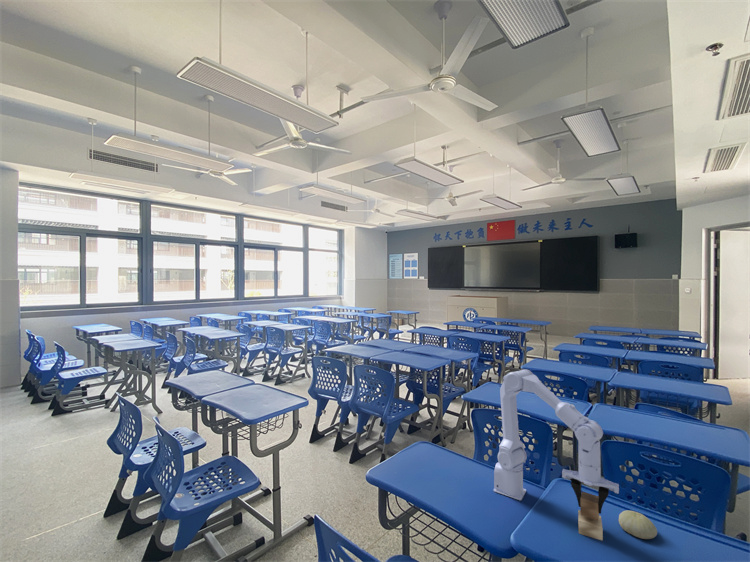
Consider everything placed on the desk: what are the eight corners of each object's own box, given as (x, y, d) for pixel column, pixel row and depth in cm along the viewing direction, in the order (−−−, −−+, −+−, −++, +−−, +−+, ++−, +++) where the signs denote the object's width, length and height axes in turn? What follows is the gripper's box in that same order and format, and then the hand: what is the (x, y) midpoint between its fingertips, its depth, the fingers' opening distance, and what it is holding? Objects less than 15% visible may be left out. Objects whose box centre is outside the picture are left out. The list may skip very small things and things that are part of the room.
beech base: (578, 534, 103) (578, 520, 103) (578, 522, 108) (578, 509, 108) (602, 541, 100) (602, 527, 100) (601, 529, 105) (600, 515, 105)
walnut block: (580, 515, 104) (580, 498, 104) (582, 507, 107) (582, 491, 108) (598, 521, 101) (598, 503, 101) (599, 513, 105) (599, 496, 105)
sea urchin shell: (644, 539, 98) (624, 507, 104) (625, 546, 103) (608, 515, 109) (667, 534, 100) (647, 503, 106) (648, 541, 105) (629, 510, 111)
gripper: (560, 460, 106) (560, 505, 105) (618, 475, 97) (618, 525, 97) (563, 452, 112) (564, 495, 111) (618, 466, 103) (619, 512, 102)
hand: (589, 508), depth 104 cm, fingers closed on walnut block, 4 cm apart
